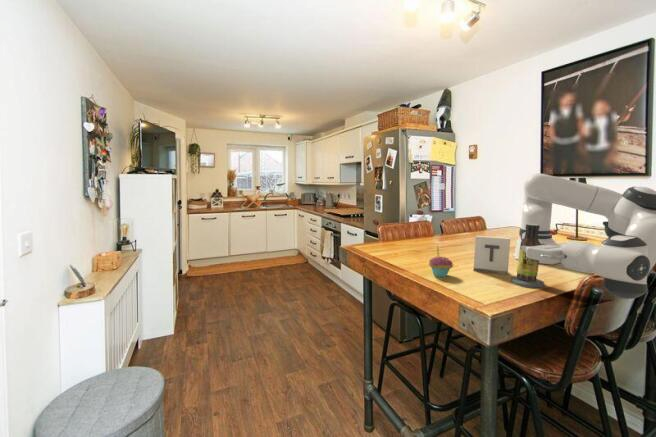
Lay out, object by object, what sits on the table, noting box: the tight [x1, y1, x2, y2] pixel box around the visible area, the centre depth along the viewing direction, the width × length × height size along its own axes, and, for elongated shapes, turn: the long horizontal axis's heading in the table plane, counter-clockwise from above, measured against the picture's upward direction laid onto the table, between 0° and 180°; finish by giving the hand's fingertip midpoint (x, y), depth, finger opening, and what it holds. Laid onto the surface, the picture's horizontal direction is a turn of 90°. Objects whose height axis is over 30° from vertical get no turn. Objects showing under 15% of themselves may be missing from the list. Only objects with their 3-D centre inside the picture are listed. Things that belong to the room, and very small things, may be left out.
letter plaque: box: [473, 235, 511, 275], centre depth 127 cm, size 12×4×14 cm, turn 64°
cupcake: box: [428, 244, 454, 278], centre depth 122 cm, size 9×8×12 cm
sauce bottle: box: [516, 224, 540, 281], centre depth 113 cm, size 6×6×20 cm
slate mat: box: [510, 275, 545, 289], centre depth 113 cm, size 10×10×1 cm
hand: (531, 246), depth 111 cm, fingers open, 8 cm apart
